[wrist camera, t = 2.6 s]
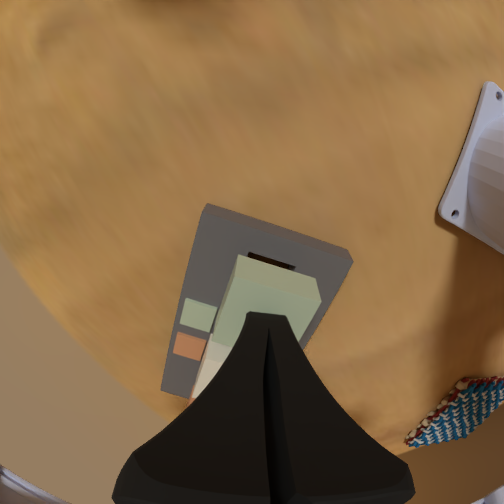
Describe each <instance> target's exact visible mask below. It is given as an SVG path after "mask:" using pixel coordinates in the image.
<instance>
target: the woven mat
mask: <svg viewBox="0 0 504 504" xmlns="http://www.w3.org/2000/svg"><path fill="white" fill-rule="evenodd" d="M455 387H457V388H456V389H453V390H451V391H450V392H449V394H453V395H452V396H449V397H444V398H443V399H442V401H441V404H439V405H438V406H437V407H436V408H437V409H439V411H430V412H429V413H428V414H427V415H426V416H432V417H428V418H427V419H426V418H425V419H424V420H423V421H422V422H421V424H419V425H418V426H417V428H420V429H417V430H412V431H411V432H410V434H409V435H408V436H406V437H405V438H406V439H409V440H408V441H407V442H406V445H409V447H411V446H415V447H416V448H417V447H419V446H420V445H425V444H426V445H427V446H428V445H429V444H430V443H437V444H439V443H440V442H442V441H446V442H448V441H449V440H452V439H455V440H458V438H461V437H463V438H466V437H467V435H468V434H470V433H471V432H473V431H474V429H475V428H477V427H478V425H480V424H482V422H483V421H484V420H485V419H486V418H488V417H489V415H490V412H493V411H494V409H497V408H498V406H499V405H500V404H501V403H502V401H503V400H504V376H503V377H497V376H495V377H491V378H479V379H469V378H465V379H462V380H461V381H460V380H459V381H458V383H457V384H456V385H455ZM492 406H493V407H492ZM475 426H476V427H475ZM425 427H427V428H425ZM430 441H431V442H430Z"/></svg>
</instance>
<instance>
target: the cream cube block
mask: <svg viewBox="0 0 504 504" xmlns="http://www.w3.org/2000/svg"><path fill="white" fill-rule="evenodd" d="M212 336H213V334H211V335H210V338H209V341H208V344H207V347H206V350H205V353H204V355H203V358H202V361H201V364H200V367H199V370H198V373H197V377H196V382H195V386H194V391H193V395H192V398H197V396H198V395H199V394H200V393H201V392H202V391H203V390H204V388H205V387H206V386H207V385H208V384H209V382H210V381H211V380H212V378H213V377H214V376H215V374H216V373H217V372H218V370H219V369H220V367H221V366H222V364H223V363H224V361H225V360H226V358H227V356H228V355H229V353H230V352H231V350H232V348H233V347H231V346H227V345H223V344H220V343H216V342H213V341H212Z"/></svg>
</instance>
